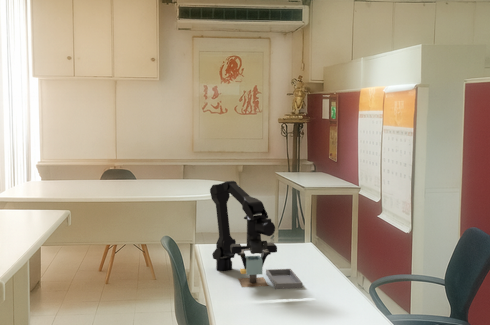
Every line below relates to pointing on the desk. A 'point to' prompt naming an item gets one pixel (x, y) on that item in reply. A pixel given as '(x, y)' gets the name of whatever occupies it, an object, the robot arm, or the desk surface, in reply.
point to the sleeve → (252, 265)
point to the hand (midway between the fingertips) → (253, 268)
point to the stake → (252, 281)
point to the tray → (283, 279)
